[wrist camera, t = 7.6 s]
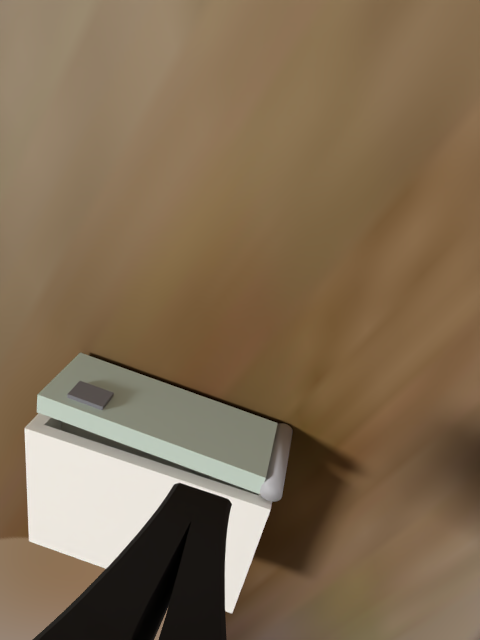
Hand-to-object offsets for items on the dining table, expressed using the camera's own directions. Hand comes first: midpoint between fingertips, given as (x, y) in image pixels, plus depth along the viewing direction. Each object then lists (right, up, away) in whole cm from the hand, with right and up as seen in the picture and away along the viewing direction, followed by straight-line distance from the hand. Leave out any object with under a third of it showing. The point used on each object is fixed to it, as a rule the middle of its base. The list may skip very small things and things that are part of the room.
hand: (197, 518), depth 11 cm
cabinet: (-3, -3, +14) cm, 14 cm away
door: (-2, +1, +11) cm, 11 cm away
